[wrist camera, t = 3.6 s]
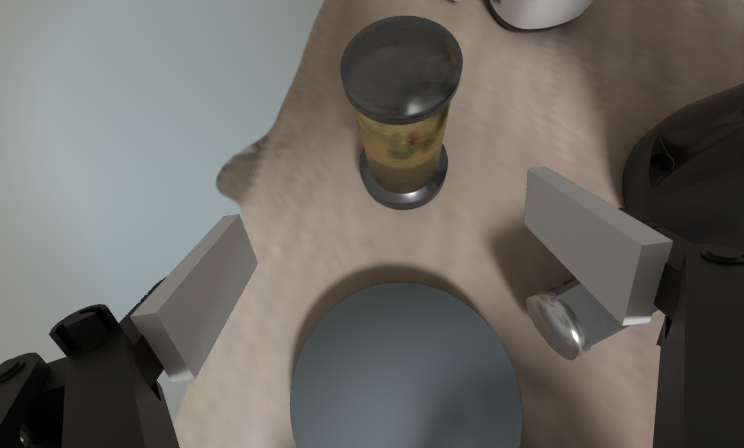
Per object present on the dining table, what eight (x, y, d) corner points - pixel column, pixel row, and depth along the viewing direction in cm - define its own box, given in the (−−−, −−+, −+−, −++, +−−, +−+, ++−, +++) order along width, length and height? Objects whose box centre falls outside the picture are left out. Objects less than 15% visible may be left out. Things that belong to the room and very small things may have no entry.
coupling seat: (443, 250, 25) (445, 246, 24) (562, 456, 21) (574, 466, 19) (267, 340, 25) (259, 341, 23) (351, 572, 20) (346, 592, 19)
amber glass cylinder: (420, 121, 29) (428, -12, 17) (461, 185, 27) (502, 82, 15) (348, 156, 28) (309, 45, 17) (385, 224, 26) (368, 149, 15)
